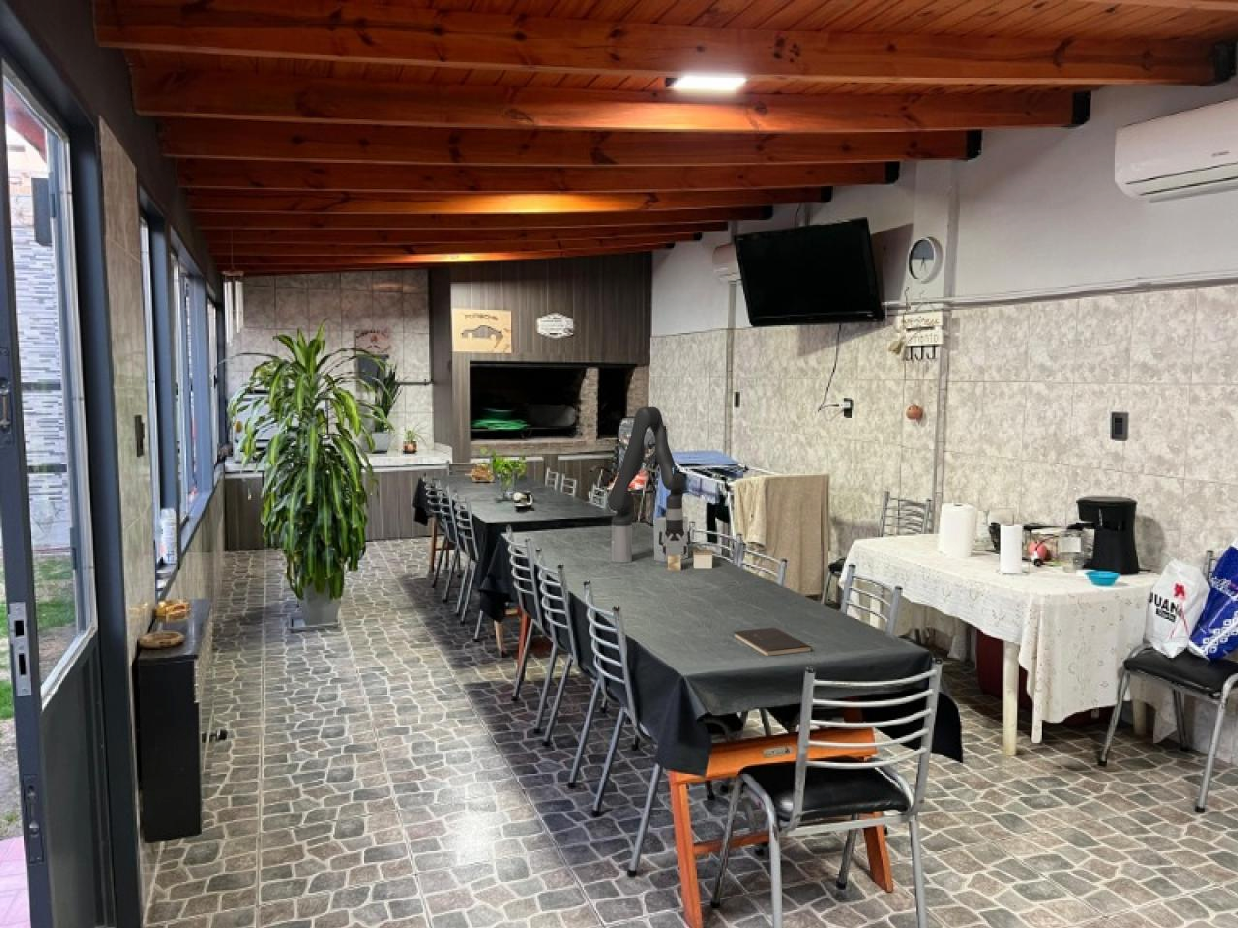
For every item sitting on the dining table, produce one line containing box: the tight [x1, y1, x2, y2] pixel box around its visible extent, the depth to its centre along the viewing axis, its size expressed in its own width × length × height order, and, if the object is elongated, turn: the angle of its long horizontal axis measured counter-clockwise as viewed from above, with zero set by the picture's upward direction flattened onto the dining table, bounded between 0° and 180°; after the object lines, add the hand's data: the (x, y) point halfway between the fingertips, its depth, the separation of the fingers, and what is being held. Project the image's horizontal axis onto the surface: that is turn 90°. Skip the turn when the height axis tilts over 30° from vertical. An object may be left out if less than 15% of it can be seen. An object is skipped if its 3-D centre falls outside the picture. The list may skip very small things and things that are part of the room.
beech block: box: [667, 555, 681, 571], centre depth 415 cm, size 6×6×6 cm
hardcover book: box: [733, 627, 813, 657], centre depth 300 cm, size 16×23×2 cm
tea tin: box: [692, 549, 713, 569], centre depth 420 cm, size 8×8×7 cm
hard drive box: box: [653, 515, 689, 563], centre depth 436 cm, size 16×8×20 cm, turn 130°
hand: (674, 554), depth 414 cm, fingers open, 8 cm apart
